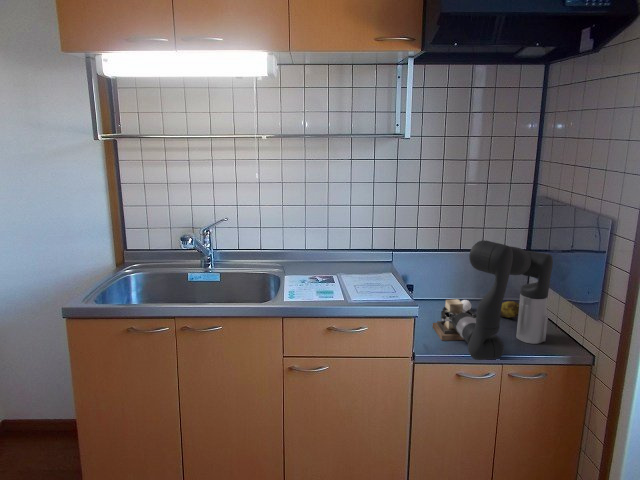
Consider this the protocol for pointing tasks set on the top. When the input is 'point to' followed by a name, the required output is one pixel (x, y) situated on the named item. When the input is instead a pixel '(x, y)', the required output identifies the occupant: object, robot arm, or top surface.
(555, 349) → the top surface
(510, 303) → the potato
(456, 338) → the walnut base
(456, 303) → the maple pillar
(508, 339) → the top surface
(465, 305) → the unicorn horn
